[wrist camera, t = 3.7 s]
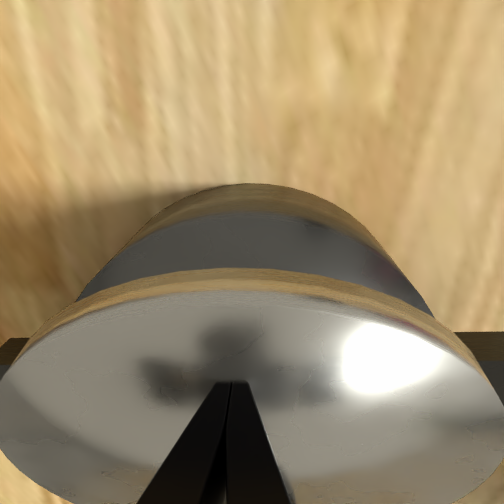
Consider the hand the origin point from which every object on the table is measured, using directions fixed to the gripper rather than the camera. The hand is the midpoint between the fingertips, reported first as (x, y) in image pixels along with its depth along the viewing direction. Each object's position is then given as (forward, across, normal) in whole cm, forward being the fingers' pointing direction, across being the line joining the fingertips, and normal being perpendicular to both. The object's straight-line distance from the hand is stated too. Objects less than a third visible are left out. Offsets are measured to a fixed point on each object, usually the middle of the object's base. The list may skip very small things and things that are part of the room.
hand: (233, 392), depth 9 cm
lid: (+2, 0, +5) cm, 5 cm away
